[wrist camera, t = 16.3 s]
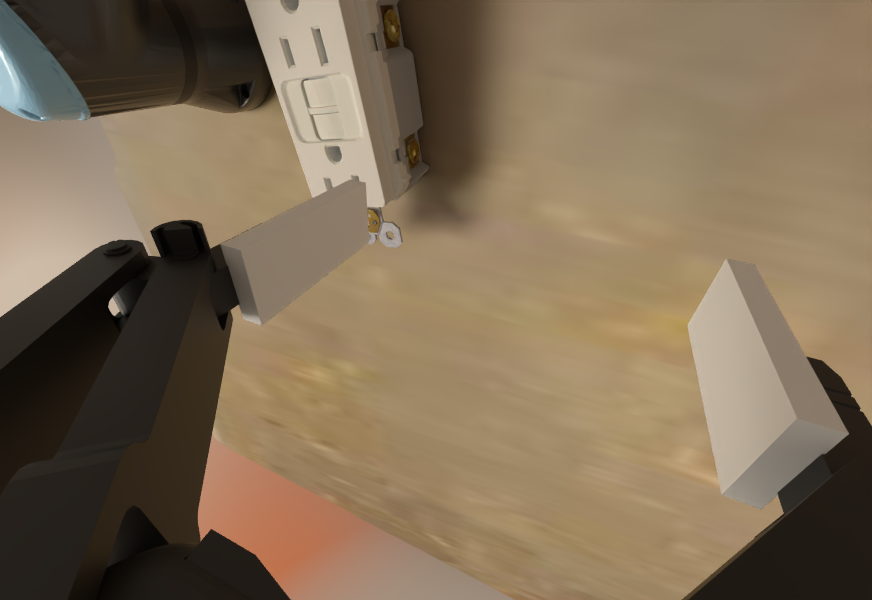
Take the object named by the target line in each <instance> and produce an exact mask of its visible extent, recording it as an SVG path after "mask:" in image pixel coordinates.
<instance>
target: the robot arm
mask: <svg viewBox="0 0 872 600" xmlns="http://www.w3.org/2000/svg"><path fill="white" fill-rule="evenodd" d="M271 84H272V78H271V75H270V72H269V69H268V66H267V63H266V60H265V57H264V54H263V51H262V48H261V46H260V43H259V40H258V37H257V34H256V31H255V28H254V25H253V22H252V19H251V16H250V13H249V10H248V8H247V5H246V2H245V0H0V106H1V107H3V108H5V109H6V110H8V111H10V112H11V113H13V114H16V115H18V116H20V117H23V118H26V119H29V120H34V121H42V122H44V121H61V120H76V119H78V120H87V119H90V117H95V116H103V115H109V114H116V113H123V112H130V111H136V110H143V109H150V108H156V107H163V106H169V105H176V104H187V105H191V106H196V107H200V108H205V109H209V110H214V111H218V112H223V113H237V112H243V111H248V110H252V109H254V108H256V107H257V106H259V105H260V104H261V103H262V102H263V101H264V99H265V98H266V96H267V95H268V93H269V90H270V88H271ZM150 232H151V234H152V237H153V239H154V242H155V244H156V246H157V249H158V251H159V253H160V256H161V257H156V256H148V254H147V252H146V249H145V247H144V245H143V243H141V242H139V241H135V240H117V241H112V242H109V243H108V244H105V245H102V246H100V247H98V248H96V249H94V250H93V251H92V252H90V253H89V254H87V255H86V256H85V257H83V258H82V259H80V260H79V261H78V262H76V263H75V264H74V265H72V266H71V267H69V268H68V269H67V270H65V271H64V272H62V273H61V274H60V275H59V276H57V277H55V278H54V279H53V280H51V281H50V282H49V283H47V284H46V285H44V286H43V287H42V288H40V289H39V290H37V291H36V292H35V293H33V294H32V295H30V296H29V297H28V298H26V299H25V300H24V301H22V302H21V303H20V304H18V305H17V306H15V307H14V308H13V309H11V310H10V311H8V312H7V313H6V314H4V315H3V316H1V317H0V600H290V599H289V597H288V596H287V595H286V593H285V592H284V591H283V590H282V588H281V587H280V586H279V585H278V583H277V582H276V581H275V579H274V578H273V577H272V576H271V574H270V573H269V572H268V570H267V569H266V568H265V567H264V565H263V564H262V563H261V562H260V560H259V559H258V558H257V557H256V555H254V554H253V553H251V552H249V551H248V550H246V549H244V548H243V547H241V546H239V545H237V544H236V543H234V542H232V541H231V540H229V539H227V538H226V537H224V536H222V535H220V534H219V533H217V532H216V531H214V530H212V529H211V530H210V531H209V532H208V534H207V535H206V536H205V537H204V538H203V540H202V541H201V542H200V533H199V527H198V506H199V501H200V496H201V491H202V485H203V479H204V474H205V469H206V463H207V458H208V453H209V447H210V442H211V436H212V431H213V425H214V420H215V414H216V409H217V404H218V398H219V393H220V387H221V382H222V376H223V371H224V365H225V360H226V355H227V349H228V344H229V338H230V333H231V327H232V322H233V317H232V313H231V309H233V308H234V307H236V306H237V305H238V304H239V306H240V309H241V313H242V316H243V319H245V320H248V321H250V322H253V323H256V324H259V325H261V326H262V325H263V324H265V323H266V322H267V321H269V320H270V319H271V318H272V317H274V316H275V315H276V314H278V313H279V312H280V311H281V310H283V309H284V308H285V307H287V306H288V305H289V304H290V303H292V302H293V301H294V300H296V299H297V298H298V297H299V296H301V295H302V294H303V293H305V292H306V291H307V290H308V289H310V288H311V287H312V286H314V285H315V284H316V283H317V282H319V281H320V280H321V279H323V278H324V277H325V276H326V275H328V274H329V273H330V272H332V271H333V270H334V269H335V268H337V267H338V266H339V265H341V264H342V263H343V262H344V261H346V260H347V259H348V258H350V257H351V256H352V255H353V254H355V253H356V252H357V251H359V250H360V249H361V248H362V247H364V246H365V245H366V244H368V243H369V233H368V214H367V195H366V183H365V182H360V181H356V180H351V179H350V180H348V181H346V182H344V183H342V184H340V185H338V186H336V187H334V188H332V189H330V190H328V191H326V192H324V193H322V194H320V195H318V196H316V197H314V198H312V199H310V200H308V201H306V202H304V203H302V204H300V205H298V206H296V207H294V208H292V209H290V210H288V211H286V212H284V213H282V214H280V215H278V216H276V217H274V218H272V219H270V220H268V221H266V222H264V223H261V224H259V225H257V226H255V227H253V228H251V229H250V230H247V231H245V232H243V233H241V234H240V235H237V236H235V237H233V238H231V239H229V240H227V241H225V242H223V243H221V244H219V245H217V246H215V247H213V248H211V249H210V247H209V244H208V241H207V238H206V235H205V232H204V229H203V226H202V224H201V223H199V222H197V221H192V220H179V221H171V222H168V223H164V224H161V225H159V226H157V227H155V228H154V229H152V230H151V231H150ZM112 297H113V299H114V301H115V302H116V304H117V306H118V308H119V310H120V312H119V313H118V314H117V315H116V316H113V315H112V314H111V312H110V310H109V308H108V305H109V301H110V299H111V298H112ZM687 326H688V331H689V336H690V341H691V346H692V351H693V356H694V361H695V366H696V371H697V376H698V380H699V385H700V390H701V395H702V400H703V405H704V410H705V415H706V420H707V425H708V430H709V435H710V440H711V445H712V450H713V455H714V460H715V464H716V469H717V474H718V479H719V484H720V489H721V494H722V495H724V496H726V497H729V498H732V499H734V500H737V501H740V502H743V503H745V504H748V505H751V506H753V507H756V508H759V509H762V508H764V507H765V506H766V505H767V504H768V503H769V502H770V501H772V500H773V499H774V498H775V497H776V496H777V495H778V497H779V500H780V503H781V506H782V509H783V512H784V514H783V515H782V516H780V517H779V518H778V519H777V520H775V521H774V522H773V523H772V524H770V525H769V526H768V527H767V528H765V529H764V530H763V531H762V532H760V533H759V534H758V535H757V536H755V538H754V539H753V540H752V541H751V542H749V543H748V544H747V545H746V546H745V547H743V548H742V549H741V550H740V551H739V552H738V553H736V554H735V555H734V556H733V557H732V558H731V559H729V560H728V561H727V562H726V563H725V564H723V565H722V566H721V567H720V568H719V569H718V570H716V571H715V572H714V573H713V574H712V575H710V576H709V577H708V578H707V579H706V580H705V581H703V582H702V583H701V584H700V585H699V586H697V587H696V588H695V589H694V590H693V591H692V592H690V593H689V594H688V595H687V596H686V597H684V598H683V599H682V600H872V426H871V424H870V423H869V421H868V419H867V418H866V416H865V415H864V413H863V412H861V411H860V409H861V408H860V407H859V405H858V403H857V402H856V400H855V399H854V398H853V397H851V395H852V394H851V392H850V391H849V389H848V388H847V386H846V384H845V383H844V381H843V380H842V378H841V377H840V376H839V375H838V374H837V373H835V372H834V371H833V370H832V369H831V368H830V367H829V366H828V365H826V364H825V363H824V362H823V361H821V360H817V359H814V358H810V357H806V356H805V354H804V352H803V350H802V349H801V347H800V345H799V343H798V341H797V340H796V338H795V336H794V334H793V332H792V331H791V329H790V327H789V325H788V323H787V322H786V320H785V318H784V316H783V314H782V313H781V311H780V309H779V307H778V305H777V304H776V302H775V300H774V298H773V297H772V295H771V293H770V291H769V289H768V288H767V286H766V284H765V282H764V280H763V279H762V277H761V275H760V273H759V271H758V270H757V268H756V266H755V264H751V263H746V262H742V261H737V260H732V259H727V258H726V260H725V262H724V263H723V265H722V267H721V268H720V270H719V272H718V274H717V275H716V277H715V279H714V280H713V282H712V284H711V286H710V287H709V289H708V291H707V293H706V294H705V296H704V298H703V299H702V301H701V303H700V305H699V306H698V308H697V310H696V311H695V313H694V315H693V317H692V318H691V320H690V322H689V324H688V325H687Z"/></svg>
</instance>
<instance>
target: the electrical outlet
mask: <svg viewBox="0 0 872 600" xmlns="http://www.w3.org/2000/svg"><path fill="white" fill-rule="evenodd" d="M245 2H246V5H247V8H248V10H249V13H250V16H251V19H252V22H253V25H254V28H255V31H256V34H257V37H258V40H259V43H260V46H261V48H262V51H263V54H264V57H265V60H266V63H267V66H268V69H269V72H270V75H271V78H272V81H273V84H274V86H275V89H276V92H277V95H278V98H279V101H280V104H281V107H282V110H283V113H284V116H285V119H286V122H287V124H288V127H289V130H290V133H291V136H292V139H293V142H294V145H295V148H296V151H297V154H298V157H299V160H300V162H301V165H302V168H303V171H304V174H305V177H306V180H307V183H308V186H309V189H310V192H311V195H312V198H314V197H316V196H318V195H320V194H322V193H324V192H326V191H328V190H330V189H332V188H334V187H336V186H338V185H340V184H342V183H344V182H346V181H348V180H350V179H351V180H356V181H360V182H365V183H366V195H367V214H368V220H369V224H370V226H368V233H369V243H368V244H373V243H374V242H375V241H376V240H377V236H376V235H379V237H380V241H381V242H382V243H383V244H384V245H385V246H386V247H394V248H398V247H399V245H400V244H401V243H402V242H403V240H402V236H401V231H400V228H399V227H398V226H397V225H396V224H395V223H394V222H384V220H383V216H382V212H381V207H383V206H385V205H386V204H387V203H388V202H390V201H391V200H397V199H398V198H400V197H401V196H402V195H403V194H404V193H405V192H406V191H408V190H409V189H410V188H411V187H412V186H413V185H415V184H416V183H417V182H418V181H419V180H420V179H421V177H422V175H423V174H424V173H426V172H427V171H428V169H429V167H430V166H428V165H427V164H425V163H423V162H422V157H421V151H420V144H419V138H418V132H417V130H418V129H420V128H421V127H422V126H423V118H422V111H421V105H420V98H419V91H418V84H417V78H416V71H415V64H414V57H413V53H412V52H411V51H410V50H409V49H407V48H405V47H404V44H403V38H402V31H401V25H400V19H399V13H398V6H397V3H398V2H399V0H245ZM387 231H391V232H393V233H394V235H395V238H394V239H391V238H390V237H388V235H387Z"/></svg>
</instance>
